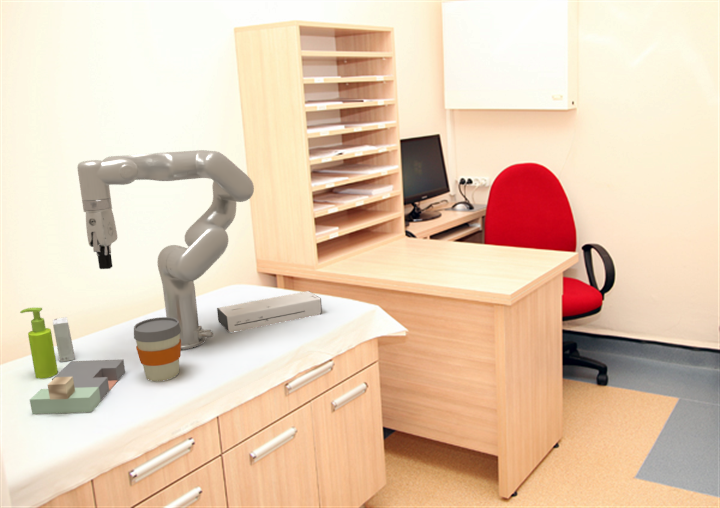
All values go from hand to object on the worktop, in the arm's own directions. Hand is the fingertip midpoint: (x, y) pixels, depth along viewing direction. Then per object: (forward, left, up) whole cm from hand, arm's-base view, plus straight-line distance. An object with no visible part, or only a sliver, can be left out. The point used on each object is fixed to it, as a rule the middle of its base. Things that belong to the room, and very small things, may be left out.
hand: (106, 268), depth 188 cm
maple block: (+3, +30, -25) cm, 39 cm away
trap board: (+3, +20, -29) cm, 35 cm away
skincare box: (+18, -5, -29) cm, 35 cm away
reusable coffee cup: (-16, +10, -29) cm, 35 cm away
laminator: (-40, -35, -30) cm, 61 cm away
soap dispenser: (+19, +7, -29) cm, 36 cm away
